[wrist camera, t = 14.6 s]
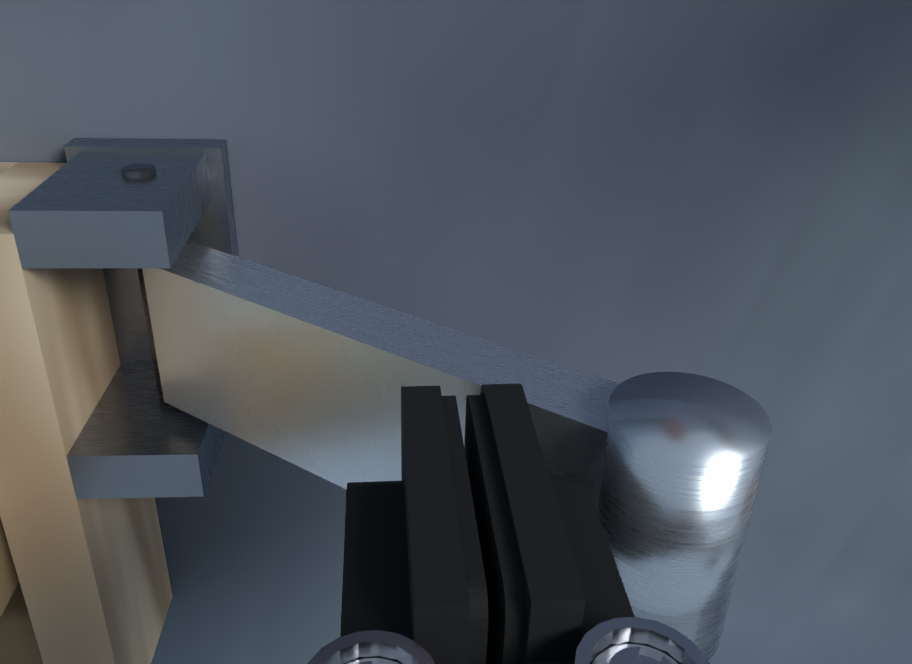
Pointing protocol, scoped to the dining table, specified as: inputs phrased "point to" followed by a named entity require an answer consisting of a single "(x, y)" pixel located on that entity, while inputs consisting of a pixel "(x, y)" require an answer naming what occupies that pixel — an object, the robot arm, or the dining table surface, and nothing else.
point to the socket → (65, 470)
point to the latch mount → (132, 295)
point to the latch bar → (462, 373)
